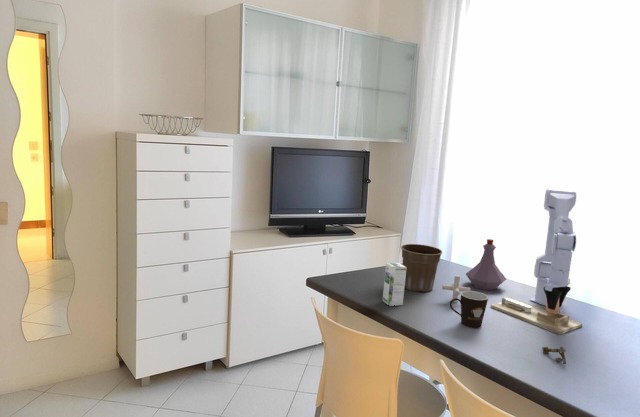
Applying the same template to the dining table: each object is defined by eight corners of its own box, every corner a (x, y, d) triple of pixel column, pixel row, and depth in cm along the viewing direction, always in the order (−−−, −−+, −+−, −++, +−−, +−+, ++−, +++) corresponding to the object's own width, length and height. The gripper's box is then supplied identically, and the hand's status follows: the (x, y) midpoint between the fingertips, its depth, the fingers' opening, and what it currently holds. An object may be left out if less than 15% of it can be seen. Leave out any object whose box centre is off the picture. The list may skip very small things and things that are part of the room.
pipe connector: (469, 308, 171) (472, 281, 169) (441, 304, 173) (444, 278, 171) (467, 298, 180) (469, 273, 179) (440, 295, 182) (442, 270, 181)
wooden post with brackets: (565, 364, 129) (562, 347, 130) (544, 362, 137) (541, 346, 138) (570, 364, 130) (567, 346, 131) (549, 362, 137) (547, 346, 138)
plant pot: (443, 287, 193) (447, 248, 190) (430, 297, 180) (434, 256, 177) (406, 278, 202) (410, 241, 199) (391, 287, 188) (394, 248, 185)
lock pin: (504, 302, 176) (505, 297, 175) (531, 312, 167) (531, 306, 167) (501, 303, 175) (502, 297, 174) (527, 313, 166) (528, 307, 166)
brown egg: (549, 309, 162) (550, 292, 162) (560, 312, 159) (562, 295, 158) (543, 311, 160) (544, 294, 159) (554, 314, 157) (555, 297, 156)
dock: (513, 301, 181) (514, 292, 180) (581, 326, 159) (583, 316, 159) (490, 307, 173) (491, 298, 172) (559, 334, 152) (560, 324, 151)
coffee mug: (484, 321, 158) (488, 293, 157) (484, 331, 150) (488, 301, 149) (449, 315, 162) (452, 287, 160) (447, 324, 154) (450, 295, 152)
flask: (482, 278, 208) (487, 234, 205) (514, 290, 195) (520, 243, 191) (455, 282, 200) (461, 236, 197) (487, 295, 186) (493, 246, 183)
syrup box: (381, 300, 173) (385, 262, 170) (396, 299, 175) (399, 262, 172) (388, 306, 167) (392, 267, 165) (403, 305, 169) (407, 266, 167)
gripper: (557, 262, 164) (551, 300, 167) (538, 268, 155) (532, 307, 157) (578, 268, 159) (572, 306, 161) (560, 274, 150) (554, 314, 152)
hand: (554, 307), depth 159 cm, fingers closed on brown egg, 4 cm apart
